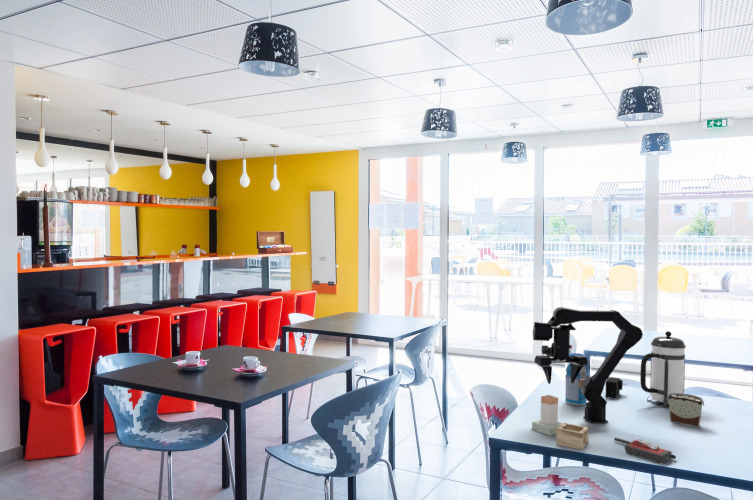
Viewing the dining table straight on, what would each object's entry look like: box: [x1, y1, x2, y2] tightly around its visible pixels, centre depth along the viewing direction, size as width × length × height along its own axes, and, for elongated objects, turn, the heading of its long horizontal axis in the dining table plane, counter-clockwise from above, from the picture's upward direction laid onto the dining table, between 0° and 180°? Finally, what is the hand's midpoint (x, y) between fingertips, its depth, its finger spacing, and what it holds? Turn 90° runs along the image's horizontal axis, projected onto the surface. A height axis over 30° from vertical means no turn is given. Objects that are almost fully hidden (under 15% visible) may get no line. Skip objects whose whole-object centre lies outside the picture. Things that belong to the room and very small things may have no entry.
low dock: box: [531, 419, 564, 436], centre depth 197 cm, size 8×8×3 cm
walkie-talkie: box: [613, 437, 677, 464], centre depth 177 cm, size 9×4×20 cm
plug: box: [540, 394, 559, 426], centre depth 197 cm, size 4×4×11 cm
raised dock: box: [555, 422, 590, 450], centre depth 184 cm, size 8×8×5 cm
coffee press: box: [640, 330, 687, 408], centre depth 235 cm, size 17×16×30 cm
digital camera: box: [605, 376, 624, 399], centre depth 247 cm, size 10×5×7 cm, turn 149°
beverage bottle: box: [564, 352, 588, 406], centre depth 233 cm, size 8×8×20 cm
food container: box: [667, 393, 705, 428], centre depth 210 cm, size 12×6×10 cm, turn 47°
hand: (560, 383), depth 212 cm, fingers open, 9 cm apart
